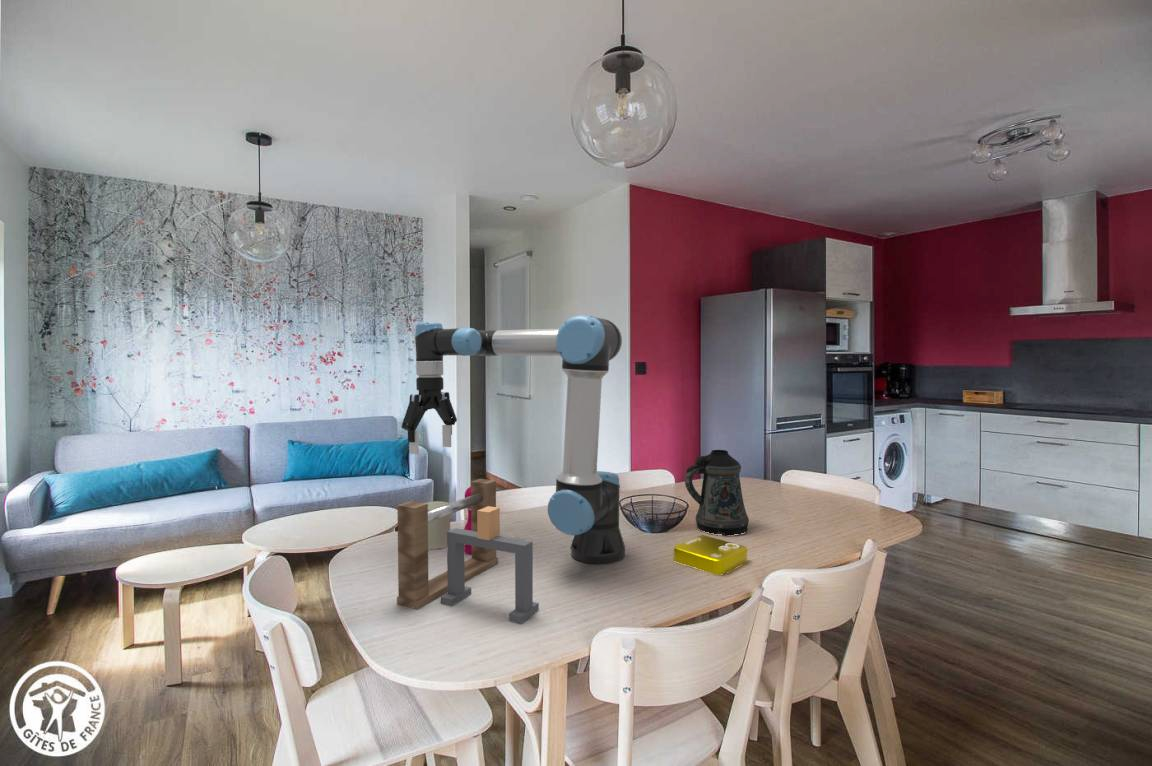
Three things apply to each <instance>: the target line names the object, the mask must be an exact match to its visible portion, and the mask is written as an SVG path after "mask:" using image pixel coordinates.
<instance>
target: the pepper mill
mask: <svg viewBox="0 0 1152 766" xmlns="http://www.w3.org/2000/svg"><path fill="white" fill-rule="evenodd" d="M469 496H471V486H469V487H468V488H466V490H465V492H464V498H467V497H469ZM466 510H467V512H468V513H467V515H468V516H467V522H466V524H465V526H464V530H469V531H472V528H471V506H470V507H467V508H466ZM464 554H467V555H472V545H467V544H464Z"/></svg>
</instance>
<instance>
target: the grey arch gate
mask: <svg viewBox="0 0 1152 766" xmlns="http://www.w3.org/2000/svg"><path fill="white" fill-rule="evenodd" d="M500 516H501V515H500V507H497V506H496V507H490V506H488V507H485V508H483V509H480V510H478V511H477V532H475V531H469V530H464V529H462V528H457V527H455V528H453V529H450V531H448V532H447V547H446V549H447V551H446V554H447V556H446V558H447V565H446V566H447V567H446V569H447V570H446V571H447V574H448V592H447V593H445V594H443V595H442V596H440V604H442V605H445V604H446V606H449V605H450V606H449V607H453V606H454V605H455V603H456V604H457V603H459V602H460V600H461V601H462V600H464V599H465V598H467V597H469V596H470V595H471V594H472V587H471V586H467V585H465V584H466V582H465V564H464V562H465V547H464V546H465V544H467V545H473V546H478V547H483V548H488V549H494V550H496V551H499V552H503V553H504V552H506V553H511V554H514V556H515V557H514V560H515V561H514V563H515V564H514V568H515V569H514V572H515V573H514V578H515V579H514V583H515V584H514V585H515V586H514V588H515V591H514V593H515V594H514V596H515V600H514V603H515V604H514V605H515V609H513V610H511V612H509V613H508V621H509V622H511V623H516V624H519V625H522V624H523V623H524V622H526V621H527V620H528V619H529V618H531V617H532V616H533V615H534V614H536V613H537V612H538V611H539V610H540V609H539V607H540V606H539V605H540V604H539V602H536V601H534V600H533V598H534V597H533V596H534V595H533V594H534V589H533V587H534V586H533V583H534V582H533V570H534V569H533V566H534V565H533V561H534V560H533V557H534V555H533V552H534V551H533V541H531V540H525V539H519V538H515V537H508V536H502V535H500V533H501V532H500V528H501V527H500V525H501V523H500V522H501V521H500V518H501V517H500ZM468 595H469V596H468ZM466 596H467V597H466ZM463 598H464V599H463ZM453 604H454V605H453ZM537 610H538V611H537ZM535 612H536V613H535Z"/></svg>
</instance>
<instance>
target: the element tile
mask: <svg viewBox="0 0 1152 766" xmlns="http://www.w3.org/2000/svg"><path fill="white" fill-rule="evenodd" d="M674 561H676V562H679V563H682V564H686V565H689V566H692V567H696V568H698V569H701V570H704V571H707V572H710V573H713V574H717V575H716V576H718V574H719V575H721V574H725V573H727V572H729V571H731V570H732V571H734V570H736V569H737V568H736V567H738V566H740V565H742V564H744V563H746V562H748V548H747V546H744V545H741V544H739V543H733V542H730V541H726V540H723V539H720V538H716V537H711V536H709V535H705V534H703V535H702V534H701V535H698V536H695V537H692V538H690V539H688V540H686V541H683V542H681V543H678V544H676V545H674V547H673V562H674ZM676 562H675V563H676ZM746 564H747V563H746ZM744 565H745V564H744ZM742 566H743V565H742ZM740 567H741V566H740ZM735 568H736V569H735ZM738 568H739V567H738ZM733 569H734V570H733ZM732 571H731V572H732ZM729 573H730V572H729ZM713 574H712V575H713ZM727 574H728V573H727ZM725 575H726V574H725ZM721 576H722V575H721Z"/></svg>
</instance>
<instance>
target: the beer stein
mask: <svg viewBox="0 0 1152 766" xmlns="http://www.w3.org/2000/svg"><path fill="white" fill-rule="evenodd" d="M694 463H695V464H693V465H690V466H689V467H688V468H687V469H686V473H685V475H684V485H685V488H686V490H687V491H688V493H689V495H690V497H691V498H692V499H693V500H694V501H695V502H696V503H697V504H698V505H699V507H698V510H697V512H696V514H695V522H696V527H697V529H698V528H699V529H700V530H699V529H698V530H699V531H701V530H702V531H705V532H709V533H714V534H722V535H734V534H741V533H744V532H746V531H747V532H748V528H749V523H750V522H749V521H750V520H749V515H748V514H747V510H746V507H745V503H744V498H743V491H742V485H741V478H740V473H741V470H742V465H741V464H740V462H739V461H738V460H736V459H735V458H733V457H732V455H730V454H729V452H728V450H725V449H713V450H711V452H710V453H709V454H707V455H702V456H698V457H697V458H695V462H694ZM696 474H701V475H702V474H703V477H702V484H701V490H700V491H701V492H700V494H699V492H698V491H697V490H696V488H695V486H694V483H693V478H694V477H695V475H696ZM702 531H701V532H702ZM705 532H704V533H705ZM747 532H746V533H747Z"/></svg>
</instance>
